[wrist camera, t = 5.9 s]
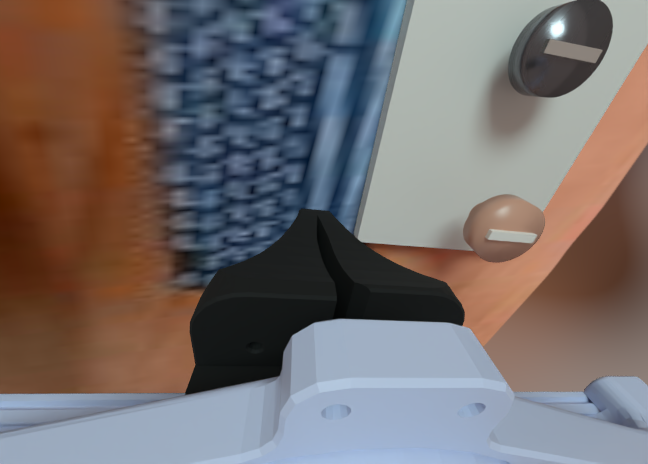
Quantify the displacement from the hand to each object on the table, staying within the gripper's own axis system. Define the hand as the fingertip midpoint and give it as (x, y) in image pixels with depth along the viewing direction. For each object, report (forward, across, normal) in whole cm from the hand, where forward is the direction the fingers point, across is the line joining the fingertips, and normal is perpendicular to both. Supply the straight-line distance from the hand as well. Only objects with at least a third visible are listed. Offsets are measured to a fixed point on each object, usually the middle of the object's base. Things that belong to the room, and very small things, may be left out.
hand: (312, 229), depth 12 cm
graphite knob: (+9, -13, -9) cm, 18 cm away
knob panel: (+10, -13, -4) cm, 17 cm away
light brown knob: (+6, -13, +1) cm, 15 cm away
